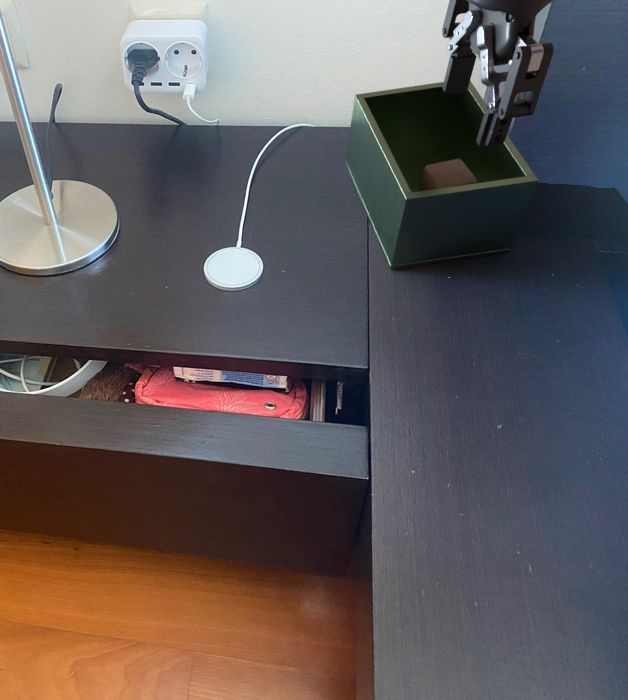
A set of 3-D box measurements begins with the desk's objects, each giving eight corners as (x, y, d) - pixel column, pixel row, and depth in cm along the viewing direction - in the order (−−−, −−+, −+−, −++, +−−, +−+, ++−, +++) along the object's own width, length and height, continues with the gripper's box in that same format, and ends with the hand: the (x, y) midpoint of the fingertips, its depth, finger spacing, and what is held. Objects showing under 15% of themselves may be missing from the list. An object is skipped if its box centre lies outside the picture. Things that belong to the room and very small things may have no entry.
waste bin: (508, 252, 75) (538, 180, 68) (389, 270, 75) (406, 199, 68) (449, 150, 86) (468, 77, 79) (345, 165, 86) (354, 94, 79)
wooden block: (424, 248, 76) (440, 188, 70) (409, 224, 78) (423, 164, 72) (460, 241, 76) (479, 180, 70) (444, 216, 79) (461, 156, 72)
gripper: (623, -36, 49) (544, 159, 62) (533, -116, 58) (481, 70, 71) (514, -20, 49) (458, 171, 62) (441, -102, 58) (405, 80, 71)
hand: (470, 117), depth 66 cm, fingers open, 8 cm apart
